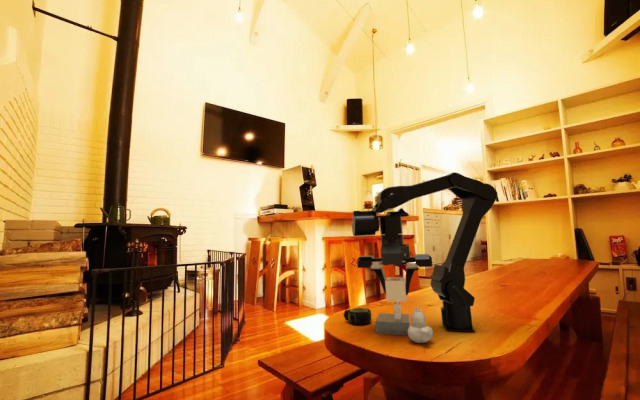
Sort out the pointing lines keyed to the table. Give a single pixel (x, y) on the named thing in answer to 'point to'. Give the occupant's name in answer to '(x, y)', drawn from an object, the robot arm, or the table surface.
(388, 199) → the robot arm
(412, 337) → the white rounded figure
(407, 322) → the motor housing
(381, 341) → the table surface
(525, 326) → the table surface
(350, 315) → the tape measure
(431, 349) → the table surface
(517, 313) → the table surface
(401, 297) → the cream box
